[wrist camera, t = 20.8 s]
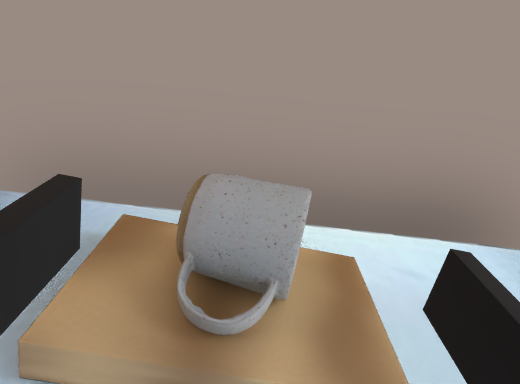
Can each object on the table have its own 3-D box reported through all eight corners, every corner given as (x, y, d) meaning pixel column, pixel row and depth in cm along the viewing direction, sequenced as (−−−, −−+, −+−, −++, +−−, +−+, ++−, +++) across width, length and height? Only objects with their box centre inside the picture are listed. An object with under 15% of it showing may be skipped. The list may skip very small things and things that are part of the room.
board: (346, 279, 35) (354, 257, 34) (402, 436, 21) (418, 405, 20) (121, 238, 33) (123, 213, 32) (19, 377, 19) (17, 341, 18)
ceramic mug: (200, 237, 31) (214, 151, 28) (294, 263, 30) (318, 177, 28) (140, 320, 21) (152, 202, 19) (277, 362, 21) (311, 245, 18)
